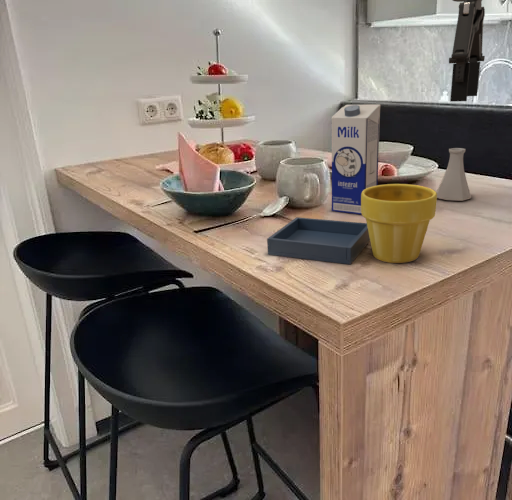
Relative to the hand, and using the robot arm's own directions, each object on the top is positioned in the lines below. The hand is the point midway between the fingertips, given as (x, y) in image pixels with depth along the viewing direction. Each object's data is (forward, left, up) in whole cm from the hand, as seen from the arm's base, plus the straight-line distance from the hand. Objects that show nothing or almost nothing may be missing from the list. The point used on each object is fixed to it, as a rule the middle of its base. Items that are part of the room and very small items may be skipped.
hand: (464, 98), depth 97 cm
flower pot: (+5, +37, -20) cm, 42 cm away
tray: (+16, +37, -20) cm, 45 cm away
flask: (0, 0, -20) cm, 20 cm away
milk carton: (+17, +14, -20) cm, 30 cm away
